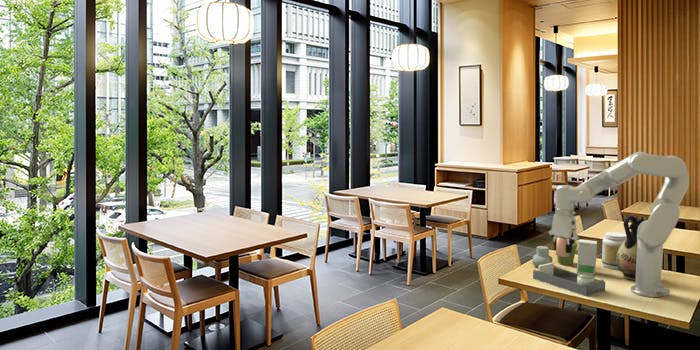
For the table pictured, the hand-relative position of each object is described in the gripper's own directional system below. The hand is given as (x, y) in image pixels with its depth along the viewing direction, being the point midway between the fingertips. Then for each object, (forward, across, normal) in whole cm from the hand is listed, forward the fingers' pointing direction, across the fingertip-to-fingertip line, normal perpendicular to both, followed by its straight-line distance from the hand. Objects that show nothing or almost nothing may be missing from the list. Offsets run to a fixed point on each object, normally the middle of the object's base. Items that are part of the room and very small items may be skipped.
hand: (562, 250), depth 229 cm
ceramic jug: (+15, -13, -34) cm, 39 cm away
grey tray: (+15, -3, 0) cm, 15 cm away
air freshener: (+15, +22, -14) cm, 30 cm away
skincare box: (+15, +4, -24) cm, 28 cm away
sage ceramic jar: (+15, -12, 0) cm, 19 cm away
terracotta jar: (+2, 0, 0) cm, 2 cm away
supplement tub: (+15, +2, -44) cm, 46 cm away
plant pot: (+15, +19, -28) cm, 37 cm away
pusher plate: (+15, +11, 0) cm, 18 cm away
